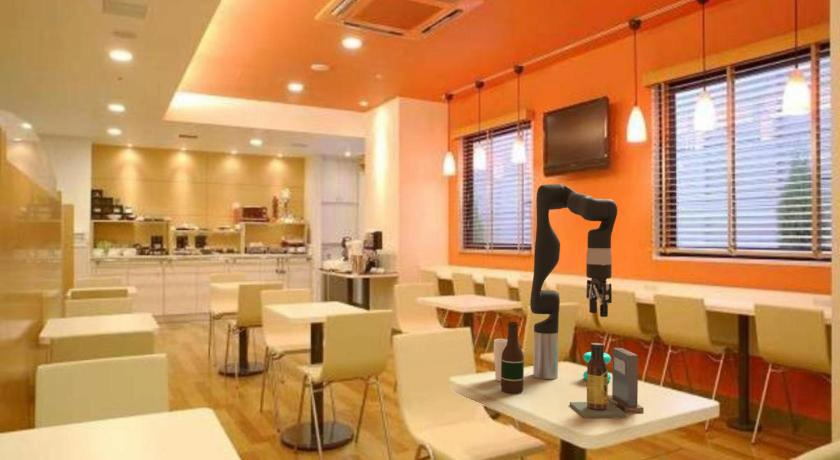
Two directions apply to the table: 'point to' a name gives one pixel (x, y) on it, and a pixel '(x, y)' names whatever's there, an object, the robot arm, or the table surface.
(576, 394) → the table surface
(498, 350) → the drinking glass
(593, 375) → the sauce bottle
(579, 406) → the mat
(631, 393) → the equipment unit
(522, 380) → the beer bottle
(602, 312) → the robot arm
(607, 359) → the donuts
